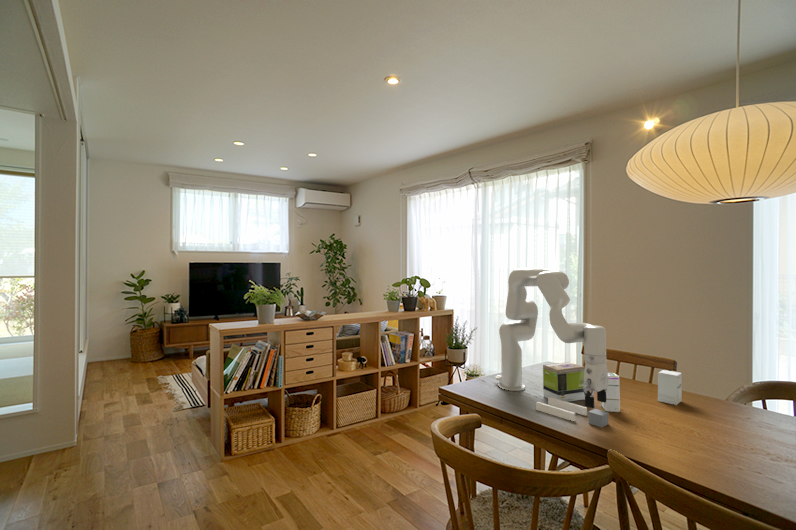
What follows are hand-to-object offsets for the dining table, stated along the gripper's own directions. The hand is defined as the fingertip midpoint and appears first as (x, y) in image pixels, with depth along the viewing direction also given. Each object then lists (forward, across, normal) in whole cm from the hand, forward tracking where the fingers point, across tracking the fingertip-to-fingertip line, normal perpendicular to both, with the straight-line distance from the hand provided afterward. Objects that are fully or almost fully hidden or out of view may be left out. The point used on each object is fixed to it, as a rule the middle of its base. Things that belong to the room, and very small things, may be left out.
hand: (595, 404), depth 151 cm
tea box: (+7, +17, +22) cm, 29 cm away
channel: (+7, 0, +14) cm, 16 cm away
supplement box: (+7, +49, -9) cm, 50 cm away
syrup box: (+7, +19, +3) cm, 21 cm away
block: (+7, 0, -1) cm, 7 cm away
